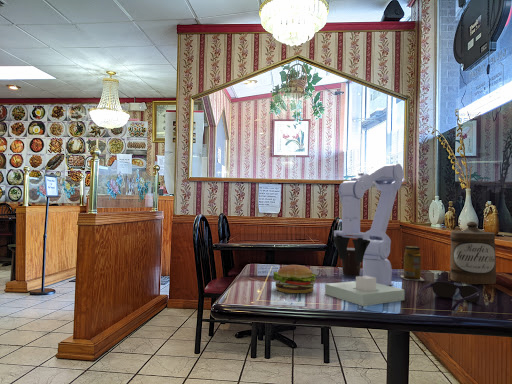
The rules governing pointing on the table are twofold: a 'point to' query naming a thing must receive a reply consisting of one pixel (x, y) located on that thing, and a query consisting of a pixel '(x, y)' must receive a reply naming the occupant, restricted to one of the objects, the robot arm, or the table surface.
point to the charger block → (365, 283)
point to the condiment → (412, 263)
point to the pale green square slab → (364, 293)
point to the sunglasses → (454, 291)
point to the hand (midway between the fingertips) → (350, 260)
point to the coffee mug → (351, 263)
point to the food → (294, 279)
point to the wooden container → (473, 256)
